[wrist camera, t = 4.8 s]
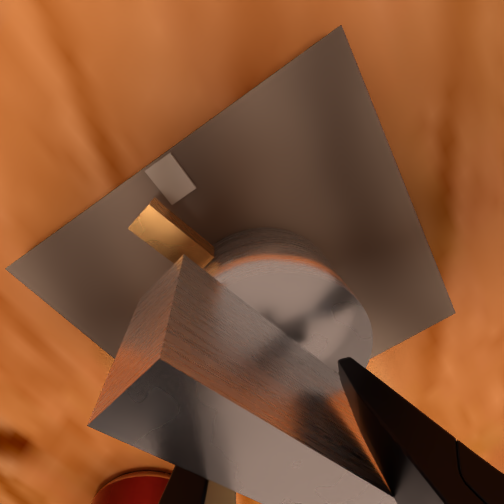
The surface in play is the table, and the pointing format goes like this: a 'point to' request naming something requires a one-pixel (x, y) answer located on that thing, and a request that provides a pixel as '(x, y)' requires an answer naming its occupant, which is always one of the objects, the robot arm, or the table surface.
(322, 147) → the post base
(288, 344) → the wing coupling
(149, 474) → the soda can
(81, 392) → the table surface
